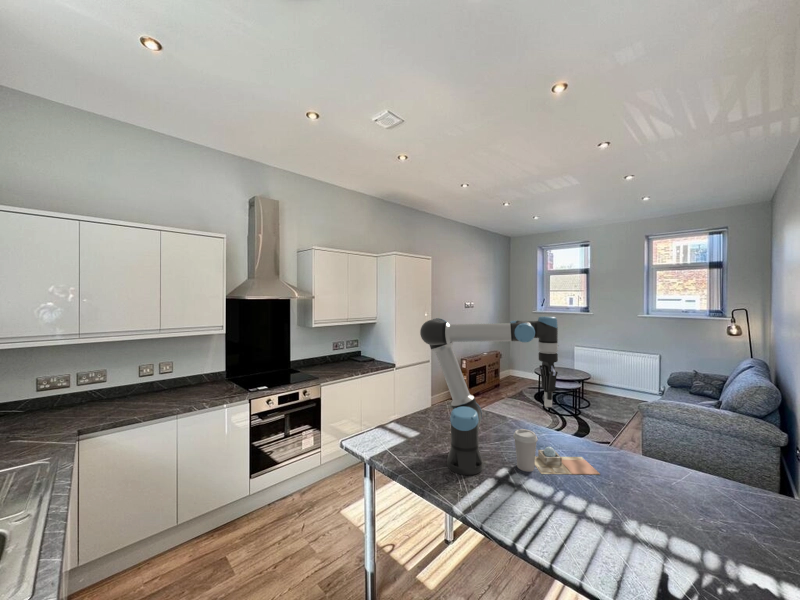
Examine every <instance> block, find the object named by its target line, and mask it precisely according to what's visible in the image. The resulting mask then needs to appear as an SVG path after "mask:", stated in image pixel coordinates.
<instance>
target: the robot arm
mask: <svg viewBox="0 0 800 600" xmlns="http://www.w3.org/2000/svg"><path fill="white" fill-rule="evenodd" d="M558 331H559V329H558V319H557V317H556V316H546V315H545V316H542V315H541V316H538V319H537V320H534V321H533V320H510V321H509V322H507V323H506V322H504V323H501V322H500V323H458V324H457V323H455V324H450V323H449V322H448V321H446V320H445V319H443V318H439V317H438V318H433V319H429V320H427V321H425V322H424V323H423V324H422V325H421V327H420V331H419V333H420V338H421V340H422V341H423V343H425V344H427V345H428V346H429V347H430V350H431V351H433V352H434V353H435V355H436V358H437V360H438V363H439V366H440V370H441V372H442V375H443V377H444V379H445V382H446V385H447V388H448V391H449V394H450V397H451V400H452V401H451V403H450V406H451V408H452V410H451V412H450V418H449V420H450V449H449V452H448V455H447V457H446V465H447V468H448V469H449V470H450V471H452V472H453V473H456V474H459V475H462V476H463V475H464V476H472V475H476V474H479V473H481V472H482V471H483V468H484V460H483V457H482V455H481V452H480V449H479V429H480V426H481V422H482V417H483V414H482V413H483V411H482V409H481V406H480V405H479V404H478V403H477V401H476V400H477V399H476V397H475V396H474V395H473V394H471V393H470V391H469V388H468V385H467V383H466V380H465V377H464V375H463V372H462V370H461V366H460V364H459V361H458V358H457V356H456V353H455V350H454V348H453V345H454V343H455V342H456V343H460V342H461V343H462V342H464V343H465V342H466V343H467V342H469V343H471V342H472V343H473V342H474V343H475V342H476V343H477V342H478V343H479V342H480V343H481V342H521V343H529V342H531V341H533V340H534V339H538V347H537V348H538V349H537V350H538V361H539V362H541V365H539V373H540V379H541V388H542V389H543V391H544V394H543V395H544V397H543V398H544V399H543V400H544V403H543V404H544V407H545V408H552V407H553V393H555V392H556V383H557V377H558V370H555V363H557V362H558V360H559V359H558V357H559V356H558V351H559V350H558V349H559V348H558V347H559V344H558V340H559V339H558V335H559V334H558Z"/></svg>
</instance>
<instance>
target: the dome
mask: <svg viewBox="0 0 800 600" xmlns="http://www.w3.org/2000/svg"><path fill="white" fill-rule="evenodd" d="M543 450H544V455H545V456H546V457H555V451H556V450H555V449H554V448H553V447H552V446H546V447H545V448H544V449H543ZM554 450H555V451H554Z"/></svg>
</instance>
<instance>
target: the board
mask: <svg viewBox="0 0 800 600" xmlns="http://www.w3.org/2000/svg"><path fill="white" fill-rule="evenodd" d="M554 451H555V457H546V456H545V455H544V449H538V451H537V452H538V453H537V454H538V455H537V456H536V455H535V466H534V467H536V468H537V470H538V472H539V473H540V474H541V475H577V476H578V475H580V476H581V475H586V476H589V475H590V476H594V475H595V476H600V475H601V473H600V472H599V471H598V470H597V469H596V468H594V466H592V465H591V464H590V462H588V461H587V460H586V459H585V458H584V457H582V456H560V454H559V453H558V452H557V451H556V450H555V449H554Z"/></svg>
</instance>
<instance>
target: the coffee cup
mask: <svg viewBox="0 0 800 600" xmlns="http://www.w3.org/2000/svg"><path fill="white" fill-rule="evenodd" d="M512 437H513V439H514V446H515V455H516V456H515V457H516V467H517V469H519V470H521V471H522V472H528V473H529V472H533V471H534V470H535V467H536V466H535V456H536V452H537V451H536V450H537V442H538V440H539V439H538V436H537V435H536V433H535V432H534V431H532V430H529V429H523V428H520V429H516V430H515V431H514V433H513V435H512Z"/></svg>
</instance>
